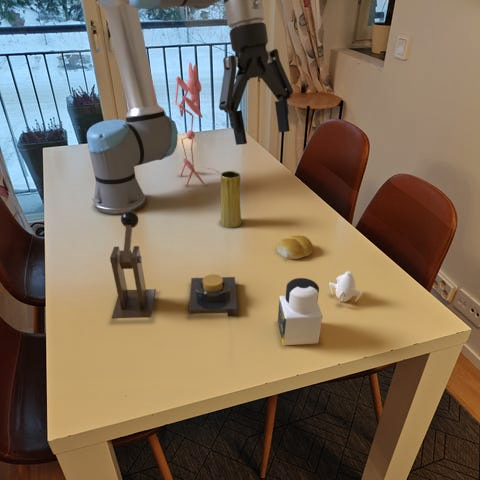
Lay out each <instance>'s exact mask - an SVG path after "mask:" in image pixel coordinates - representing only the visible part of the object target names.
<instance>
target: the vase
mask: <svg viewBox="0 0 480 480" xmlns="http://www.w3.org/2000/svg"><path fill="white" fill-rule="evenodd" d="M220 225H222V227H225V228H230V229H232V228H238V227H239V226H241V225H242V210H241V173H240V172H238V171H236V170H226V171H223V172H220Z"/></svg>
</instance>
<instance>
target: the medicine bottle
mask: <svg viewBox="0 0 480 480" xmlns="http://www.w3.org/2000/svg"><path fill="white" fill-rule="evenodd" d="M285 287H286V288H285V295H280V296H279V298H278V299H279V302H278V313H277V325H278V330H279V334H280V338H281V339H280V340H281V343H282V346H294V345H295V346H296V345H313V344H314V345H317V344H319V341H320V334H321V329H322V322H323V313H322V310H321V307H320V305H319V303H318V299H319V293H320V287H319V285H318V284H317V282H315V281H314V280H312V279H310V278H305V277H295V278H293V279H291V280H290V281H289V282H287V283H286V286H285Z"/></svg>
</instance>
